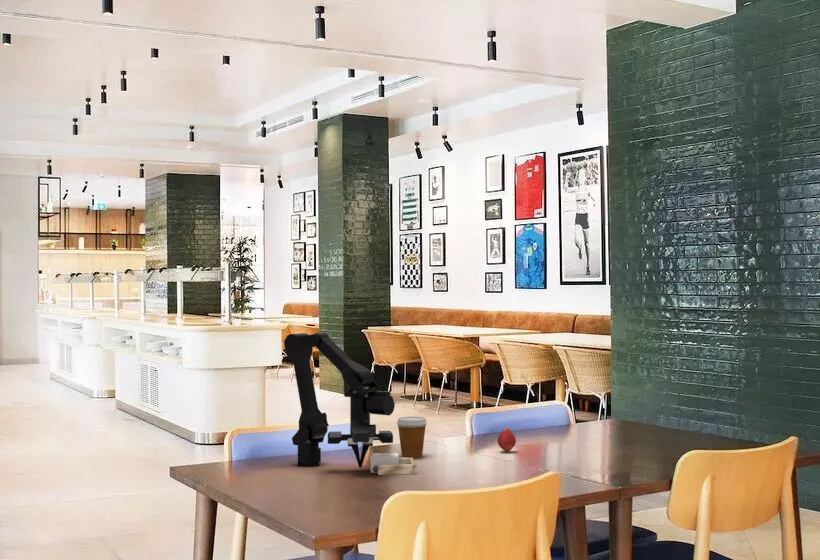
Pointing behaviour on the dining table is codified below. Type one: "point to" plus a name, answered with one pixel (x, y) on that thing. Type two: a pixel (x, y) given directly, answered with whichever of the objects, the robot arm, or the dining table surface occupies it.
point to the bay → (399, 467)
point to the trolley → (382, 460)
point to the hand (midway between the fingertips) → (360, 467)
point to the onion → (506, 440)
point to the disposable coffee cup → (411, 436)
